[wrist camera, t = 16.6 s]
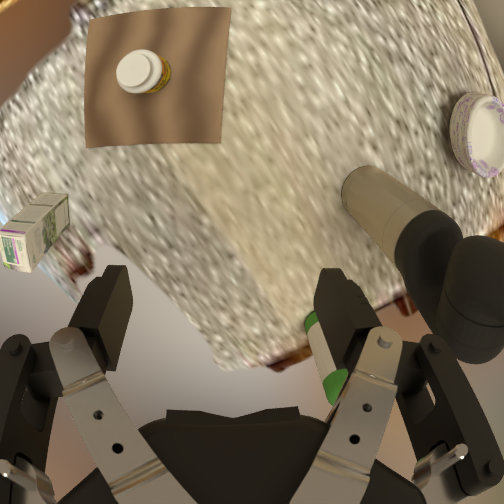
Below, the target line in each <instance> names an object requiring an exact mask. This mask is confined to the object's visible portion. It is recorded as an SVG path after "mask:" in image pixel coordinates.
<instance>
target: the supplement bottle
mask: <svg viewBox="0 0 504 504" xmlns="http://www.w3.org/2000/svg"><path fill="white" fill-rule="evenodd" d="M116 77H117V81H118V83H119V85H120V86H121V88H122V89H124V90H125V91H127V92H130V93H153V92H157V91H159V90H161V89H163V88H164V87H165V86H166V85H167V84H168V82H169V80H170V78H171V67H170V65H169V63H168V62H167V60H165V59H164V58H162V57H161V56H159V55H157V54H155V53H154V52H152V51H149V50H145V49H140V50H135V51H132V52H130V53H129V54H127V55H126V56H125V57H124V58H123V59H122V60H121V61H120V62H119V64H118V66H117V70H116Z"/></svg>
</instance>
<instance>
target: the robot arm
mask: <svg viewBox="0 0 504 504" xmlns="http://www.w3.org/2000/svg"><path fill="white" fill-rule="evenodd" d="M342 202H343V205H344V207H345V208H346V210H347V211H348V212H349V213H350V214H351V215H352V216H353V217H354V219H355V220H356V221H357V222H358V223H359V224H360V225H361V227H362V228H363V229H364V230H365V231H366V232H367V233H368V235H369V236H370V237H371V238H372V239H373V240H374V241H375V243H376V244H377V245H378V246H379V247H380V249H381V250H382V251H383V252H384V253H385V254H386V256H387V257H388V258H389V259H390V260H391V262H392V263H393V264H394V265H395V267H396V268H397V269H398V270H399V271H400V273H401V274H402V276H403V280H404V284H405V287H406V290H407V292H408V294H409V296H410V297H411V299H412V301H413V302H414V304H415V305H416V307H417V309H418V310H419V312H420V313H421V315H422V317H423V318H424V320H425V322H426V323H427V325H428V326H429V328H430V330H431V331H432V333H433V334H426V335H424V336H423V337H422V338H421V340H420V342H419V343H414V342H408V341H402V339H401V337H400V336H399V335H398V334H397V333H396V332H395V331H394V330H392V329H390V328H387V327H383V326H382V324H381V322H380V321H379V319H378V317H377V315H376V314H375V312H374V310H373V308H372V307H371V305H370V304H369V302H368V300H367V298H366V297H365V295H364V293H363V292H362V290H361V288H360V287H359V286H358V285H357V284H356V283H354V282H353V281H352V280H347V278H346V277H345V275H344V273H343V271H342V270H341V269H340V268H323V269H322V270H321V272H320V276H319V280H318V284H317V288H316V292H315V295H314V310H315V313H316V316H317V318H318V321H319V324H320V326H321V329H322V332H323V334H324V337H325V340H326V342H327V345H328V348H329V350H330V353H331V356H332V359H333V361H334V364H335V367H336V370H341V369H347V371H348V375H347V377H346V379H345V381H344V383H343V385H342V387H341V390H340V392H339V394H338V396H337V398H336V400H335V402H334V404H333V407H332V409H331V411H330V412H329V414H328V416H327V418H326V419H325V421H324V422H323V421H321V420H319V419H316V418H313V417H310V416H305V415H300V413H299V409H298V406H296V407H286V408H275V409H265V410H262V411H259V412H255V413H252V414H248V415H244V416H241V417H237V418H229V417H224V416H220V415H215V414H210V413H206V412H202V411H187V410H167V415H166V418H163V419H159V420H156V421H153V422H150V423H148V424H146V425H144V426H142V427H140V428H139V429H137V428H136V426H135V425H134V423H133V422H132V420H131V419H130V417H129V416H128V414H127V413H126V411H125V409H124V408H123V406H122V405H121V403H120V402H119V400H118V398H117V396H116V395H115V393H114V391H113V390H112V388H111V386H110V384H109V383H108V381H107V379H106V377H105V373H106V370H107V371H116V367H117V363H118V359H119V355H120V351H121V347H122V343H123V340H124V336H125V333H126V329H127V325H128V322H129V318H130V315H131V312H132V307H133V296H132V291H131V286H130V281H129V276H128V270H127V267H126V266H125V265H108V266H107V267H106V269H105V271H104V273H103V275H102V277H96V278H95V279H93V280H92V281H91V282H90V283H89V284H88V286H87V288H86V289H85V292H84V295H82V297H81V299H80V302H79V303H78V306H77V308H76V310H75V312H74V314H73V316H72V318H71V320H70V323H69V325H68V327H65V328H62V329H60V330H58V331H57V332H55V333H54V335H53V336H52V337H51V339H50V341H49V342H43V343H37V344H31V342H30V340H29V339H28V337H26V336H25V335H22V334H17V335H13V336H11V337H9V338H8V339H7V340H6V341H5V342H4V343H3V345H2V347H1V349H0V504H459V503H461V502H464V501H466V500H467V499H470V498H472V497H474V496H476V495H478V494H480V493H482V492H484V491H486V490H488V489H490V488H491V487H493V486H495V485H497V484H498V483H499V482H500V480H501V479H502V477H503V475H504V460H503V457H502V454H501V452H500V449H499V447H498V444H497V442H496V439H495V437H494V434H493V432H492V430H491V427H490V425H489V423H488V421H487V418H486V416H485V414H484V412H483V410H482V408H481V406H480V403H479V402H478V399H477V397H476V395H475V393H474V392H473V389H472V387H471V386H470V384H469V382H468V380H467V378H466V376H465V374H464V372H463V370H462V369H461V367H460V365H459V363H458V361H457V360H456V358H457V359H458V360H460V361H462V362H465V363H469V364H482V363H486V362H488V361H490V360H492V359H493V358H495V357H496V356H497V355H498V354H499V353H500V352H501V351H502V349H503V348H504V243H503V242H501V241H499V240H497V239H493V238H490V237H486V236H479V235H476V236H469V237H466V238H464V239H463V235H462V232H461V229H460V227H459V226H458V224H457V223H456V222H455V221H454V220H453V219H452V218H451V217H449V216H448V215H447V214H445V213H444V212H442V211H441V210H440V209H438V208H437V207H436V206H434V205H433V204H432V203H430V202H429V201H427V200H426V199H424V198H423V197H422V196H420V195H419V194H417V193H416V192H414V191H413V190H411V189H410V188H409V187H407V186H406V185H404V184H403V183H401V182H400V181H398V180H396V179H395V178H393V177H392V176H390V175H389V174H387V173H386V172H384V171H383V170H381V169H379V168H377V167H374V166H364V167H360V168H358V169H356V170H355V171H353V172H352V173H351V174H350V175H349V176H348V178H347V179H346V181H345V183H344V185H343V189H342ZM428 383H429V385H430V387H431V390H432V392H433V394H434V396H435V406H434V403H433V401H432V399H431V396H430V394H429V392H428V390H427V388H426V385H427V384H428ZM23 395H24V396H23ZM58 397H64V399H65V402H66V404H67V406H68V409H69V411H70V413H71V415H72V418H73V420H74V422H75V424H76V426H77V429H78V431H79V433H80V434H81V437H82V439H83V440H84V442H85V444H86V446H87V448H88V450H89V452H90V454H91V456H92V457H93V459H94V461H95V463H96V464H97V466H98V467H97V468H95V469H94V470H93V471H92V472H91V473H90V474H89V475H88V476H87V477H86V478H84V479H83V480H82V481H81V482H80V483H79V484H78V485H77V486H76V487H74V488H73V489H72V490H71V491H70V492H69V493H68V494H66V495H65V496H64V497H63V498H62V499H61V500H60V501H59V502H58V503H57V502H56V500H55V498H54V490H53V486H52V483H51V480H50V479H49V477H48V476H47V475H46V474H45V467H46V459H47V452H48V446H49V440H50V434H51V429H52V423H53V419H54V414H55V409H56V404H57V400H58ZM395 398H396V401H397V403H398V406H399V409H400V411H401V415H402V417H403V420H404V422H405V426H406V429H407V432H408V435H409V437H410V441H411V443H412V446H413V450H414V453H415V456H416V459H417V463H416V465H415V468H414V474H413V476H412V482H410V481H408V480H407V479H405V478H404V477H402V476H401V475H399V474H398V473H396V472H394V471H393V470H391V469H390V468H388V467H387V466H386V465H384V464H382V463H381V462H380V461H378V460H377V459H375V457H376V455H377V452H378V449H379V447H380V444H381V441H382V438H383V435H384V432H385V429H386V426H387V423H388V420H389V417H390V413H391V410H392V406H393V403H394V399H395ZM21 402H22V403H21Z"/></svg>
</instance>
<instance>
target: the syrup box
mask: <svg viewBox="0 0 504 504" xmlns="http://www.w3.org/2000/svg"><path fill="white" fill-rule="evenodd" d="M68 226H69V212H68V196H67V195H64V194H53V193H41V194H40V195H39V196H38V197H37V198H35V199H34V200H33V201H32V202H31V203H29V204H28V205H27V206H26V207H25V208H24V209H22V210H21V211H20V212H19V213H18V214H16V215H15V216H14V217H13V218H12V219H11V220H10V221H8V222H7V223H6V224H5V225H4V226H3V227H2V228H1V229H0V251H1V255H2V259H3V263H4V267H6V268H9V269H12V270H16V271H23V272H30V273H31V272H32V271H33V270H34V268H35V267H36V266H37V264H38V263H39V262H40V260H41V259H42V258H43V256H44V255H45V254H46V252H47V251H48V250H49V249H50V247H51V246H52V245H53V244H54V242H55V241H56V240H57V239H58V237H59V236H60V235H61V234H62V233H63V231H64V230H65V229H66V228H67V227H68Z"/></svg>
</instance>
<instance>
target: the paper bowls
mask: <svg viewBox="0 0 504 504" xmlns="http://www.w3.org/2000/svg"><path fill="white" fill-rule="evenodd" d="M449 131H450V138H451V145H452V149H453V152H454V154H455V157H456V159H457V160H458V162H459V163H460V164H461V165H462V166H463V167H464V168H466V169H467V170H469V171H471V172H473V173H475V174H477V175H479V176H481V177H484V178H491V177H494V176H496V175H497V174H499V173H500V172H501V171H502V169H503V168H504V104H503V103H502V102H501V101H500V100H499V99H498V98H496V97H495V96H492V95H487V94H482V93H477V92H469V93H466V94H465V95H463V96H462V97H461V98H460V99H459V100H458V102H457V103H456V105H455V107H454V109H453V112H452V115H451V119H450V126H449Z"/></svg>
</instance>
